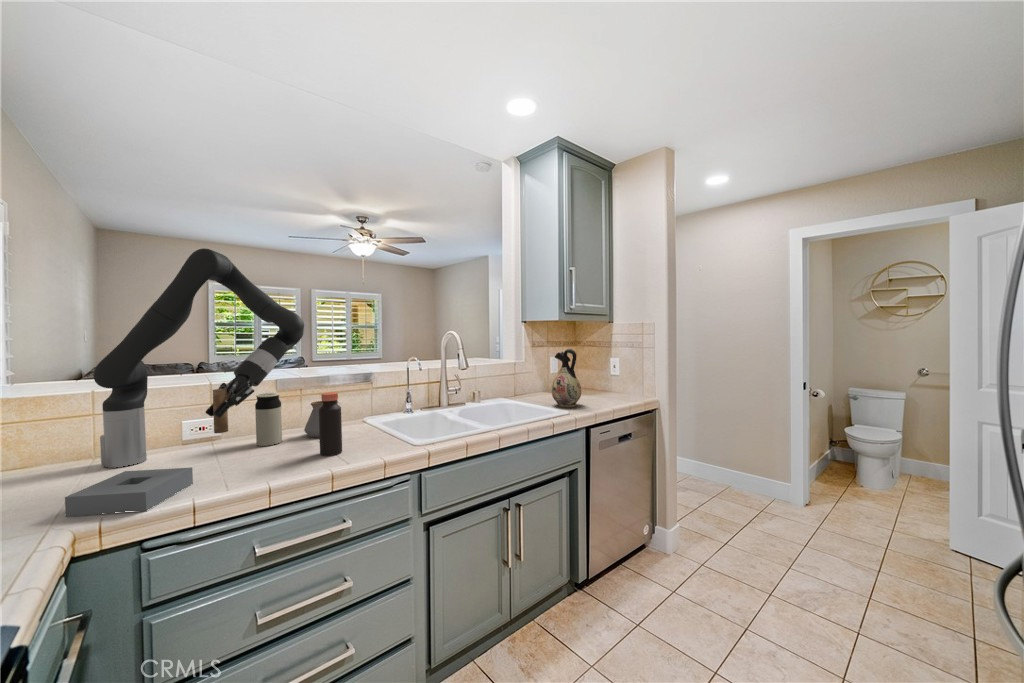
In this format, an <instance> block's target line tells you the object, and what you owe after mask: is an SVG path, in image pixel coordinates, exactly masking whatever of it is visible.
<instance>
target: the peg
mask: <svg viewBox="0 0 1024 683" xmlns="http://www.w3.org/2000/svg"><path fill="white" fill-rule="evenodd" d="M226 397H227V389H219V388H216V389H215V388H214V389H212V404H213V412H214V411H215V410H216V409H217V408H218V407H219V405H220V404H221V403H222V402H223V403H224V400H225V399H226ZM228 410H229V409H228ZM228 410H227V411H226V412H225V413H224V414H223V415H222V417H220V418H219V417H216V416H215V415H214V416H213V434H224V433H227V432H229V418H228V416H229V414H228V412H229V411H228Z"/></svg>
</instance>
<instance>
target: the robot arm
mask: <svg viewBox="0 0 1024 683" xmlns="http://www.w3.org/2000/svg"><path fill="white" fill-rule="evenodd" d="M208 281H214V282H216V283H218V284H221V285H222V286H224V287H226V289H228V290H230V292H232V293H234V294H235V295H236V296H237V297H238V299H239V300H240V301H241V302H242V304H244V306H245V307H246V308H247V309H248V310H249V311H251V312H252V313H253V314H255V316H257V317H258V318H260V319H261V320H262V321H264V323H268V324H271V323H273V325H276V326H277V327H278V328H279V329H278V331H277V333H276V334H274V335H273V336H268V337H267V338H266V339H265V340H263V341H262V343H260V345H259V346H258V347H257V348H256V349H254V350H253V351H252V352H251V353H249V355H248V356H247V357H246V358H245V359H244V360H243V361H242V362H241V363H240V364H239V365H238V366H237V367H236V368H235V370H234V371H233V374H234V378H233V379H232V380H230V381H229V382H228V383H225V382H222V383H221V384H220V386H218V389H227V397H226V399H225V400H224V403H223V402H222V403H221V404H220V405H219V407H218V408H217V409H216V410H215V411H214V412H213V403H212V404H211V405H210V406H209V407H208V408H207V409H206V410H205V411H204V412H205V414H206V415H208V416H209V417H214V415H215V416H216V417H219V418H220V417H222V415H223V414H224V413H225V412H226V411H227V410H229V409H230V408H233V407H234V406H239V405H240V404H241V403H242V402H244V401H245V400H246V399H247V398H248V397H251V395H252V394H254V393H255V389H253V388H252V387H258V386H259V385H260V384H261V383H262V382H263V380H264V379H265V378H266V377H267V376H268V375H269V374H270V373H271V372H272V371H273V369H274V368H275V366H276V365H277V363H278V362H279V361H280V360H281V359H282V358H283V357H284V355H285V354H287V352H288V351H290V350H291V349H292V348H294V347H295V346H296V345H297V344H298V343H299V342H300V341H301V339H302V338H303V337H304V332H305V322H304V320H303V319H302V318H301V317H300V315H298V314H297V313H296V312H294V311H292V310H290V309H288V308H286V307H285V306H281V305H280V304H279V303H278V302H277V301H276V300H274V299H273V298H272V297H270V296H269V295H268V294H267V293H265V291H263V290H262V289H260V288H259V287H257V285H255V283H253V282H252V281H250V280H249V279H248V278H247V277H246V276H245V275H244V274H243V273H242V271H240V270H239V269H238V267H236V265H235V264H234V263H233V262H232V261H231V259H230V258H228V256H226V255H224V254H222V253H220V252H218V251H215V250H212V249H210V248H200V249H197V250H195V251H193V252H192V253H191V254H190V255H188V258H187V259H186V261H185V262H184V264H183V265H182V267H181V268H180V270H179V271H178V273H177V274H176V275H175V277H174V278H173V280H172V281H171V283H169V285H168V286H167V287H166V288H165V290H164V291H163V292H162V293H161V295H160V296H159V297H158V298H157V299H156V301H155V300H154V302H153V303H152V304H151V306H150V307H149V308H148V309H147V310H146V311H145V313H144V314H143V315H142V317H141V318H140V319H139V320H138V322H137V323H136V324H135V325H134V326H133V327H132V329H131V330H130V331H129V332H128V333H127V334H126V336H125V337H124V338H123V339H122V340H121V341H120V342H119V344H118V345H116V346H115V347H114V348H113V349H112V350H111V351H109V353H108V354H107V355H106V356H104V358H102V359H101V360H100V361H99V362H98V364H97V365H96V366H95V368H94V371H93V380H94V382H95V383H96V384H97V386H99V387H102V388H104V389H111V393H110V395H109V396H108V397H107V398H106V399H105V400H103V402H102V405H101V407H102V422H103V434H102V435H100V436H99V443H100V444H99V445H100V447H99V448H100V462H101V464H100V466H101V468H103V467H102V466H105V467H104V468H107V467H108V468H107V469H116V467H118V468H122V467H123V466H125V467H129V466H128V465H130V466H134V465H138V464H141V463H143V461H144V462H146V461H147V437H146V416H145V415H146V414H145V401H146V398H147V397H148V369H147V366H146V364H145V363H144V361H143V359H144V358H145V357H147V355H148V354H150V352H152V351H153V350H154V349H156V348H158V347H159V346H161V345H162V344H164V343H165V342H166V341H168V340H169V339H170V338H172V337H173V336H174V335H175V334H176V333H178V331H179V330H180V328H182V326H183V325H184V324H185V322H186V321H187V320H188V319H189V317H190V315H191V312H192V309H193V308H192V307H193V303H194V299H195V296H196V294H197V293H198V292H199V291H200V289H201V288H202V287H203V286H204V285H205V284H206V283H207V282H208ZM137 463H138V464H137ZM133 464H134V465H133Z"/></svg>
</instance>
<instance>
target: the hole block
mask: <svg viewBox="0 0 1024 683" xmlns="http://www.w3.org/2000/svg"><path fill="white" fill-rule="evenodd" d="M193 477H194V475H193V467H191V466H190V467H177V468H176V467H175V468H157V469H141V470H124V471H122V472H120V473H116V475H112V476H110V477H108V478H106V479H104V480H102V481H99V482H97V483H94V484H92V485H90V486H87V487H85V488H83V489H81V490H78V491H75V492H73V493H71V494H69V495H67V496H64V508H65V510H64V511H65V517H66V518H72V517H73V516H74V517H86V516H87V515H88V516H97V515H96V514H102V513H115V512H125V511H146V512H148V511H149V510H148V509H150V508H152V507H153V506H155V505H157V504H158V505H160V504H161V503H160V502H162V501H163V502H165V501H166V500H165V499H167V498H168V499H170V498H172V497H173V496H175V495H176V494H175V493H177V492H179V491H180V492H182V491H183V490H182V489H184V488H185V489H187V488H188V486H189V485H190V486H192V485H194V478H193ZM191 484H192V485H191ZM190 486H189V487H190ZM186 487H187V488H186ZM185 489H184V490H185ZM181 490H182V491H181ZM180 492H179V493H180ZM174 494H175V495H174ZM177 494H178V493H177ZM172 495H173V496H172ZM171 496H172V497H171ZM169 497H170V498H169ZM168 499H167V500H168ZM164 500H165V501H164ZM163 502H162V503H163ZM159 503H160V504H159ZM158 505H157V506H158ZM155 507H156V506H155ZM153 508H154V507H153ZM153 508H152V509H153ZM147 510H148V511H147ZM150 510H151V509H150ZM84 515H86V516H84ZM74 517H73V518H74Z"/></svg>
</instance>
